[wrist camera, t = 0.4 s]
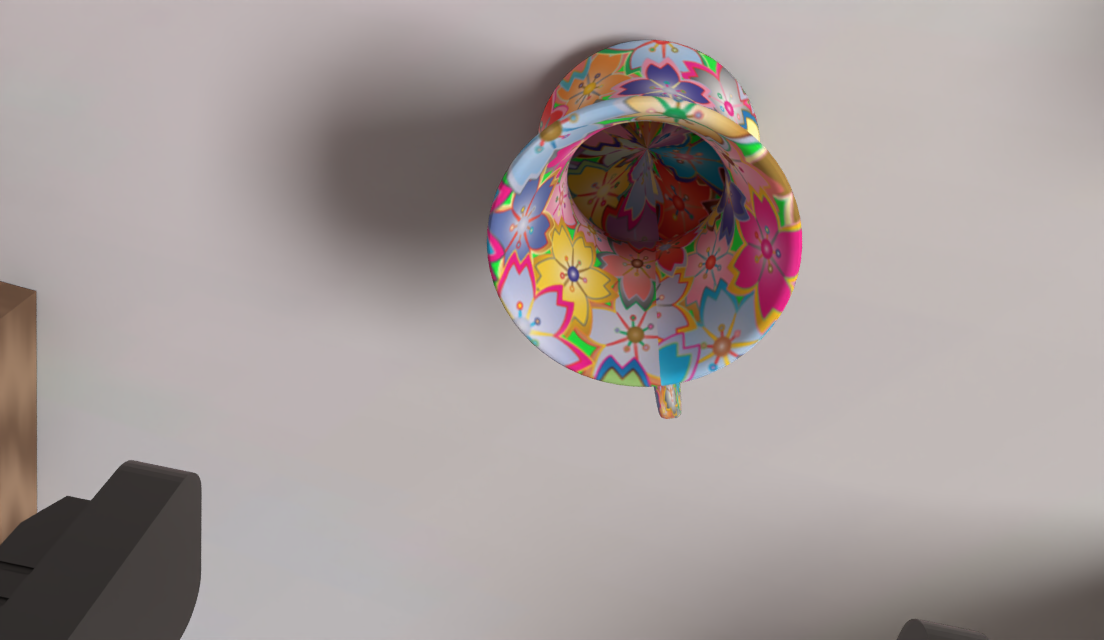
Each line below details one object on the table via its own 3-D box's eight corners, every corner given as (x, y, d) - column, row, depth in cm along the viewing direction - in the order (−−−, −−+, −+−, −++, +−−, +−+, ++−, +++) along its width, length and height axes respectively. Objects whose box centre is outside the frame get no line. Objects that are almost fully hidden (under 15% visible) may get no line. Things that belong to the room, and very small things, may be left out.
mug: (508, 44, 37) (455, 125, 28) (757, 3, 35) (791, 74, 26) (563, 323, 42) (534, 470, 33) (782, 298, 41) (817, 445, 31)
